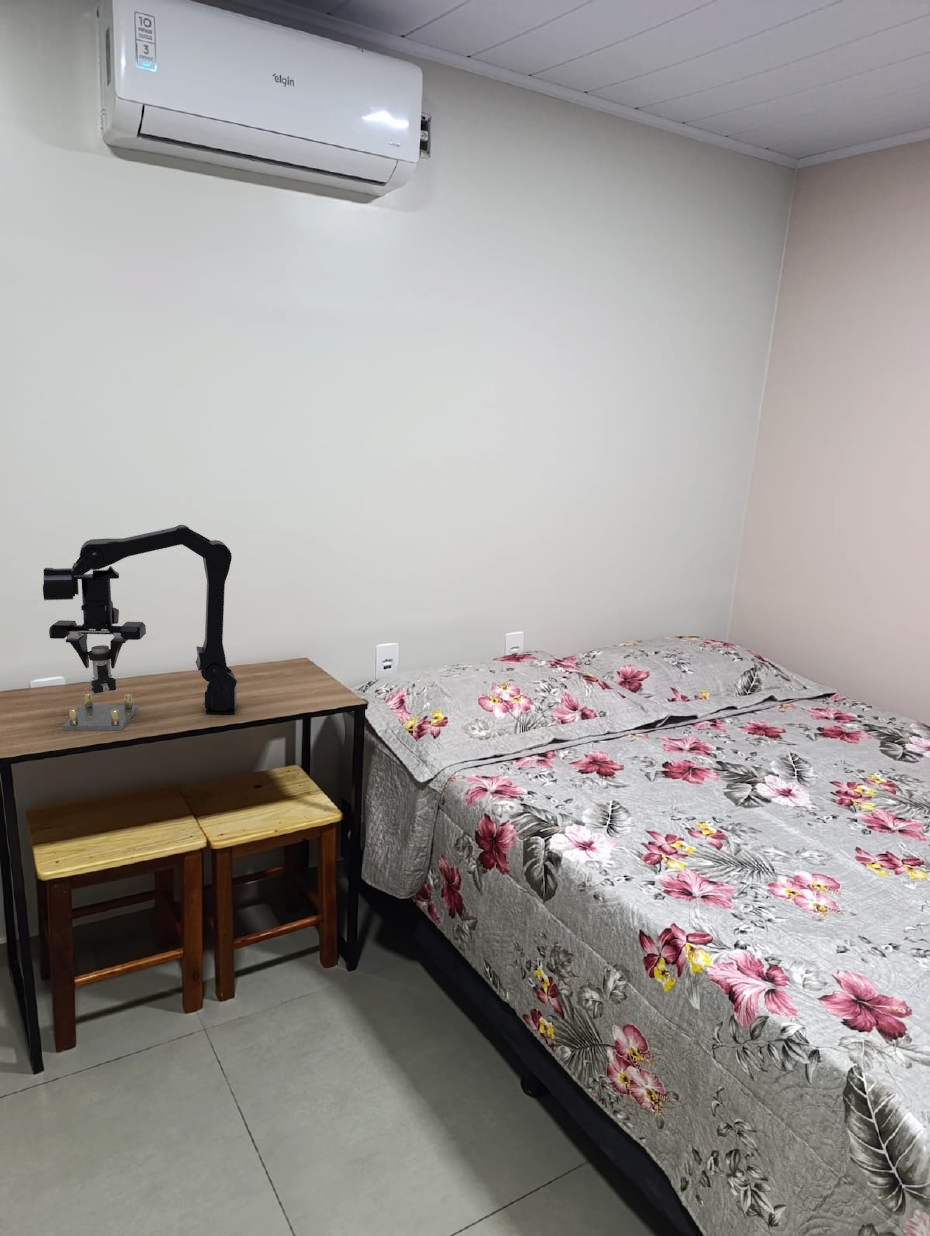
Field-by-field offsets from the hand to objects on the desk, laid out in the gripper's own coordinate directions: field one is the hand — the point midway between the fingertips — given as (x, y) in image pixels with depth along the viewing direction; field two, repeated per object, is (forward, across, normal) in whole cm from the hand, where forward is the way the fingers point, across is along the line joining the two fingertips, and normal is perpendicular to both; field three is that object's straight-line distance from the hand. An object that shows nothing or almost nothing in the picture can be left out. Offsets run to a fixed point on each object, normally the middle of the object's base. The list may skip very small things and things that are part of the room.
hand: (100, 667), depth 188 cm
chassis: (+12, 0, 0) cm, 12 cm away
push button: (+6, 0, 0) cm, 6 cm away
